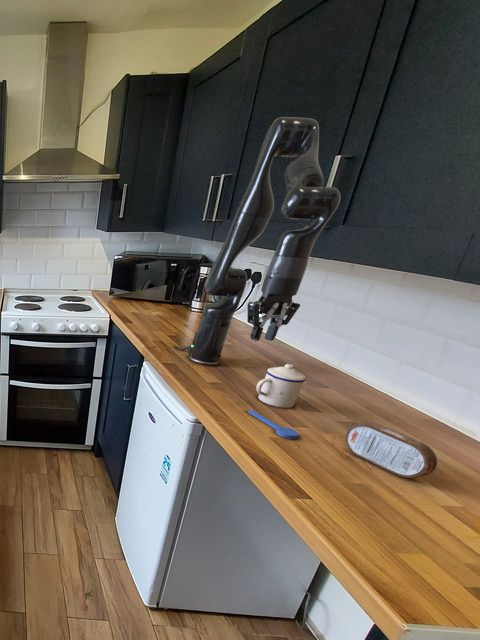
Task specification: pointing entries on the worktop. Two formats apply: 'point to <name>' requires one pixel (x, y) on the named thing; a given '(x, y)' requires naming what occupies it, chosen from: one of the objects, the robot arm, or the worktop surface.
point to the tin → (391, 450)
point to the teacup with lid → (280, 386)
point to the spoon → (276, 427)
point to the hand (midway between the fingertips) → (261, 339)
